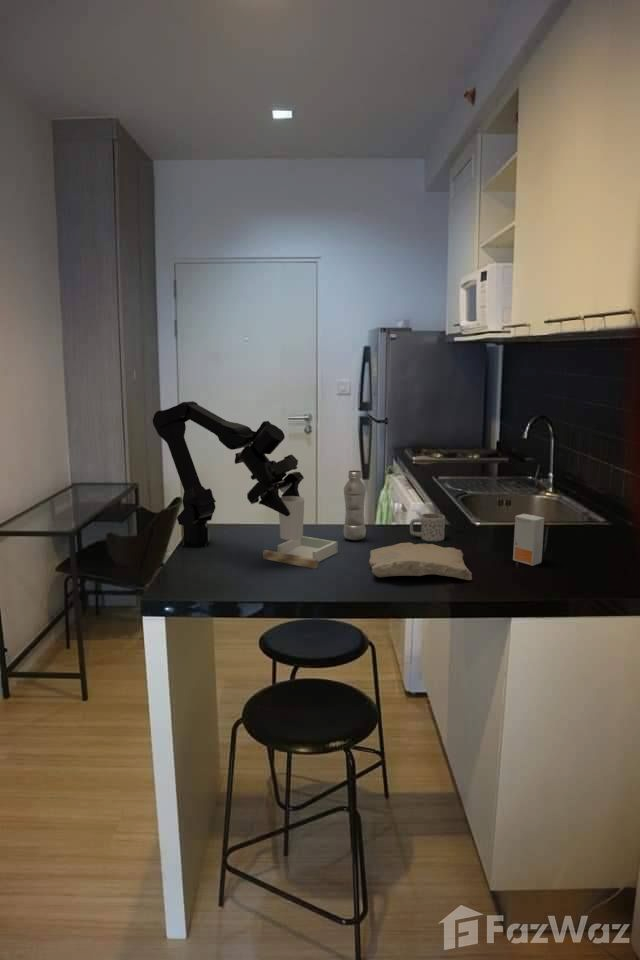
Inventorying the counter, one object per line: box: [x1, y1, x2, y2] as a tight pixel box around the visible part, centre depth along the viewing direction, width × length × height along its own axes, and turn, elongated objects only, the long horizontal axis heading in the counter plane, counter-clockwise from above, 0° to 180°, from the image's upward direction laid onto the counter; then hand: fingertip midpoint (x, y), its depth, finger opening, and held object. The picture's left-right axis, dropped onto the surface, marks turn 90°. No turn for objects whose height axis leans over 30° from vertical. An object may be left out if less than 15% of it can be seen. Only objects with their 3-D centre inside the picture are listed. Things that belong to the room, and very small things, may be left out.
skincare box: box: [512, 513, 545, 567], centre depth 170 cm, size 6×4×12 cm
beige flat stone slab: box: [368, 542, 473, 581], centre depth 163 cm, size 24×8×20 cm
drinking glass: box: [278, 496, 305, 541], centre depth 170 cm, size 7×7×10 cm
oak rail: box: [262, 549, 319, 569], centre depth 171 cm, size 16×2×2 cm, turn 58°
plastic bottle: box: [343, 469, 367, 541], centre depth 191 cm, size 6×7×20 cm
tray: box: [277, 535, 339, 563], centre depth 178 cm, size 12×12×3 cm
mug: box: [409, 512, 446, 542], centre depth 193 cm, size 10×7×7 cm
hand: (295, 512), depth 169 cm, fingers closed on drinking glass, 6 cm apart
